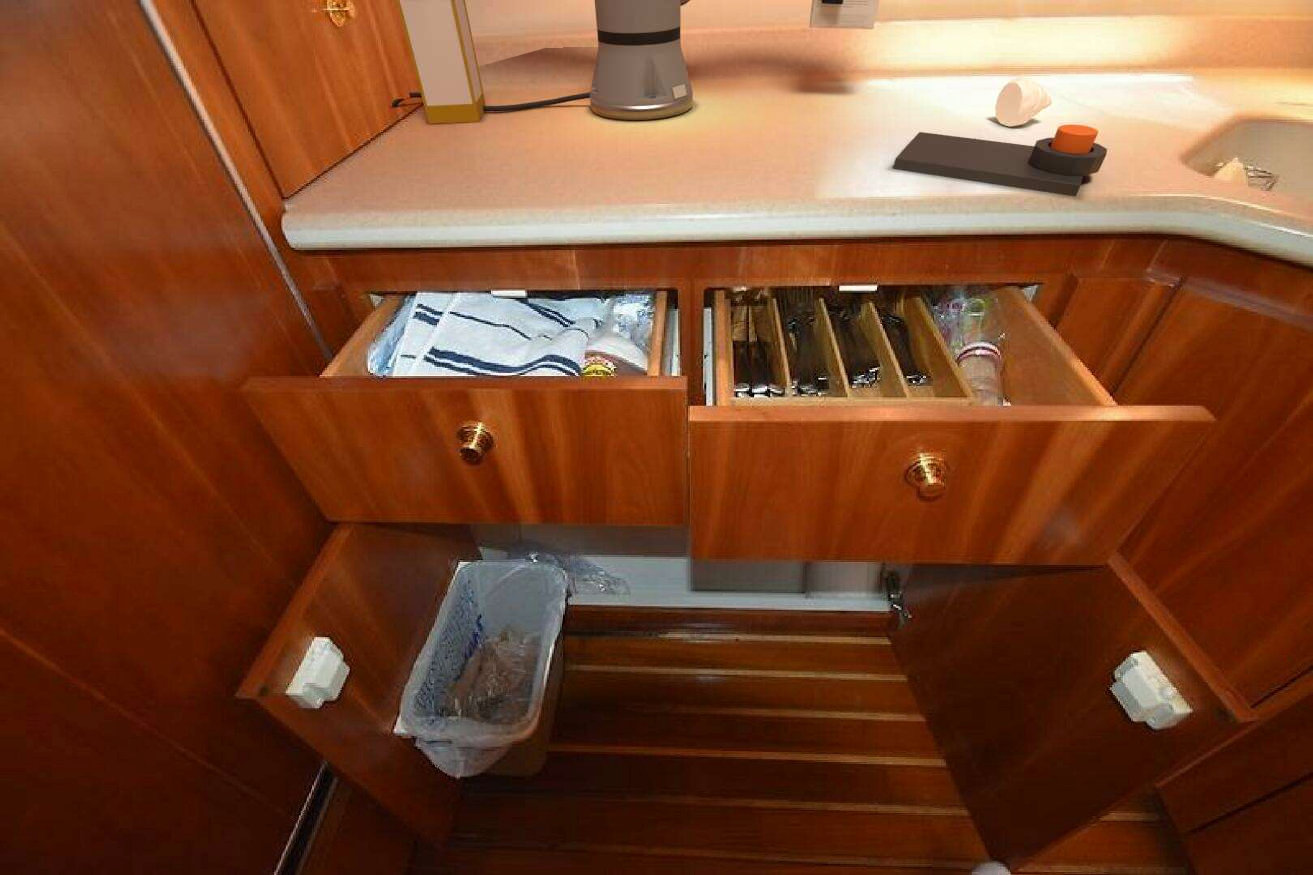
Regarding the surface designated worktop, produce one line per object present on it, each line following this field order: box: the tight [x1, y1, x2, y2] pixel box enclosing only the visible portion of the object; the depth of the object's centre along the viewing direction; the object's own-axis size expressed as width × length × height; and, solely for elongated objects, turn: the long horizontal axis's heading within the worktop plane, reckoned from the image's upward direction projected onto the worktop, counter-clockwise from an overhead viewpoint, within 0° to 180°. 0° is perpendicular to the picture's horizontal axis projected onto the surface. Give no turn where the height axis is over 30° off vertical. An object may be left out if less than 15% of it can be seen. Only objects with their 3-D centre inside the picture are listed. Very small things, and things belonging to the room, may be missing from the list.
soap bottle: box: [395, 0, 487, 125], centre depth 77 cm, size 7×13×24 cm, turn 4°
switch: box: [1050, 124, 1099, 154], centre depth 60 cm, size 4×4×2 cm
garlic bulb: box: [995, 76, 1053, 127], centre depth 75 cm, size 6×6×5 cm
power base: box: [892, 131, 1108, 198], centre depth 64 cm, size 19×11×3 cm, turn 59°
